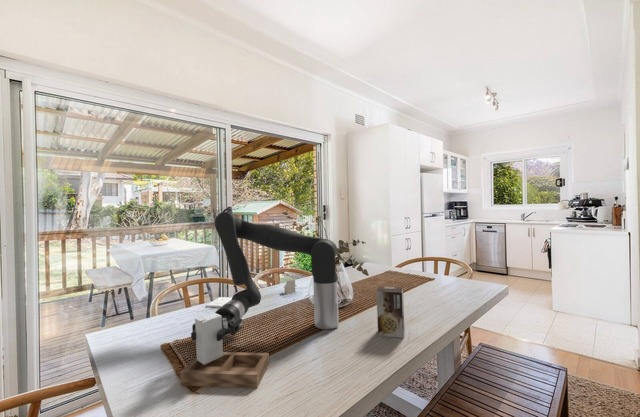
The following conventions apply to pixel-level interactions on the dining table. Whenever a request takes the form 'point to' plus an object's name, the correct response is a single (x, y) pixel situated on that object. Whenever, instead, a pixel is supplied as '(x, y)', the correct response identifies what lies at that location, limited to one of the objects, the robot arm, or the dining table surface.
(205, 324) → the skincare box
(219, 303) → the external hard drive
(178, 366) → the dining table surface
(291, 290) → the architectural model
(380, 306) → the grey brown upright block
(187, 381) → the wooden compartment tray
